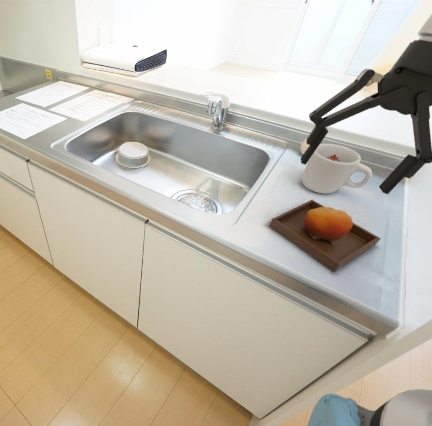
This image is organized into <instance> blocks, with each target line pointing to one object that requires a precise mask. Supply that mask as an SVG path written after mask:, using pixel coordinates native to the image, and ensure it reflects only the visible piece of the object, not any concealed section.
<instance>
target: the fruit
mask: <svg viewBox="0 0 432 426" xmlns="http://www.w3.org/2000/svg"><path fill="white" fill-rule="evenodd" d="M353 223H354V222H353V219H352V217H351V216H350V215H349V214H348V213H347V211H343V210H341V209H336V208H334V207H332V206H331V207H330V206H324V207H319V208H315V209H312V210H310V211H308V213H307V215H306V218H305V228H306V231H307V233H308V234H309V235H310V236H311V237H312V238H313V239H314V240H316V239H324V240H327V241H329V242H331V243H332V244H333V245H334V241H336V240H338V239H340V238H342V237H343V236H344V235H345V234H347V233H348V232H349V231H350V229H351V228H352V225H353Z"/></svg>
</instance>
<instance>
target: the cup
mask: <svg viewBox="0 0 432 426" xmlns="http://www.w3.org/2000/svg"><path fill="white" fill-rule="evenodd" d="M361 161H362V157H361V155H360V154H359V153H358V152H357V151H355V150H354V149H352V148H349V147H347V146H343V145H340V144H334V143H320V145H319V146H318V147H317V149H316V150H315V152H314V153H313V155H312V156H311V158H310V159H309V161H308V162H307V163H306V165H305V169H304V171H303V175H302V178H301V179H302V181H301V182H302V184H303V186H304V187H306V188H307V189H308V190H310V191H312V192H314V193H319V194H333V193H335V192H336V191H337V190H339V189H340V188H341V187H348V188H353V189H360V188H363V186H365V185H367V184H368V183H369V181H370V180H371V178H372V176H373V171H372V169H371V168H370V167H369V166H367V165H365V164H363V163H361ZM357 172H362V173H365V177H364V178H363V179H362V180H361V181H358V182H355V181H352V180H351V178H352V176H353V175H354V174H355V173H357Z"/></svg>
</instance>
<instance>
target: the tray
mask: <svg viewBox="0 0 432 426" xmlns="http://www.w3.org/2000/svg"><path fill="white" fill-rule="evenodd" d="M319 207H325V205H323V204H321V203H319V202H317V201H316V200H314V199H310V200H307V201H306V202H303V203H302V204H300V205H297V206H296V207H293V208H291V209H290V210H287V211H286V212H283V213H281V214H279V215H276V216H275V217H273V218H271V221H270V223H269V225H268V227H269V228H271V229H272V230H273V231H275V232H276V233H278V234H279V235H280V236H282V237H283V238H285V240H287V241H289V242H290V243H292V244H293V245H295V246H296V247H297V248H299V249H300V250H302V251H303V252H305V253H306V254H307V255H308V256H310V257H311V258H313V259H315V260H316V261H317V262H318V263H320V265H321V264H322V265H323V266H324V267H326V268H327V269H328V270H330V271H331V272H333V273H335V272H337V271H338V270H341V268H343V267H344V266H346V265H348V264H349V263H350V262H352V261H354V260H356V259H357V258H358V257H361V255H363V254H364V253H366V252H367V251H369V250H370V249H372V248H374V247H375V246H376V245H377V244H378V242H380V241H381V239H382V238H381V237H379V236H377V235H376V234H374V233H372V232H371V231H369V230H367V229H365V228H364V227H361V226H360V225H358V224H357V223H355V222H353V225H352V228H351V229H350V231H349V232H348V233H347V234H345V235H344V236H343V237H342V238H340V239H338V240H336V241H334V245H333V244H332V243H331V242H329V241H327V240H324V239H316V240H314V239H313V238H312V237H311V236H310V235H309V234H308V233H307V231H306V228H305V218H306V215H307V213H308V211H310V210H312V209H315V208H319Z"/></svg>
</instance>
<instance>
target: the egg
mask: <svg viewBox="0 0 432 426" xmlns="http://www.w3.org/2000/svg"><path fill="white" fill-rule="evenodd" d="M307 138H308V137H306V138H304V140H303V141H302V142H301V145H300V148H299V149H300V150H299V151H300V153H301V154H302V155H303V154H304V153H305V151H306V150H307V148H308V147H309V145H308V144H307V143H306V140H307Z"/></svg>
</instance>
